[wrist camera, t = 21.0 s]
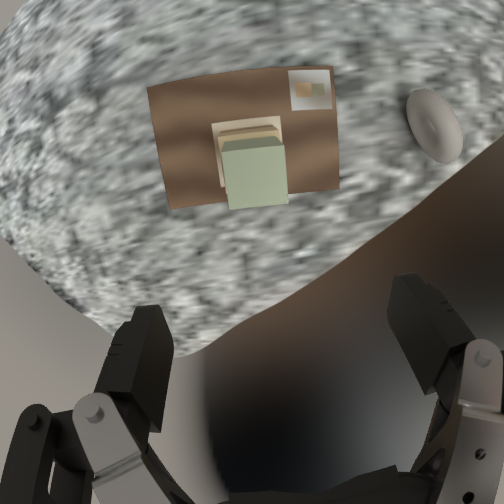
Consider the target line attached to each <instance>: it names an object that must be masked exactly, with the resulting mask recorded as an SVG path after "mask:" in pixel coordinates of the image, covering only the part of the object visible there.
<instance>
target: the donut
mask: <svg viewBox="0 0 504 504" xmlns="http://www.w3.org/2000/svg"><path fill="white" fill-rule="evenodd" d="M406 112H407V118H408V122H409V125H410V128H411V130H412V132H413V135H414V136H415V138H416V140H417V142H418V143H419V145H420V146H421V148H422V149H423V150H424V151H425V153H426V154H427V155H428V156H429V157H431V158H432V159H434V160H435V161H437V162H440V163H445V164H447V163H451V162H453V161H455V160H456V159H457V158H458V156H459V155H460V153H461V151H462V145H463V136H462V129H461V126H460V123H459V120H458V118H457V116H456V114H455V112H454V111H453V109H452V107H451V106H450V105H449V104H448V102H447V101H446V100H445V99H444V98H443V97H441V96H440V95H439V94H437V93H436V92H434V91H432V90H429V89H425V88H424V89H419V90H415V91H413V92H412V94H411V95H410V96H409V98H408V100H407V106H406Z"/></svg>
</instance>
